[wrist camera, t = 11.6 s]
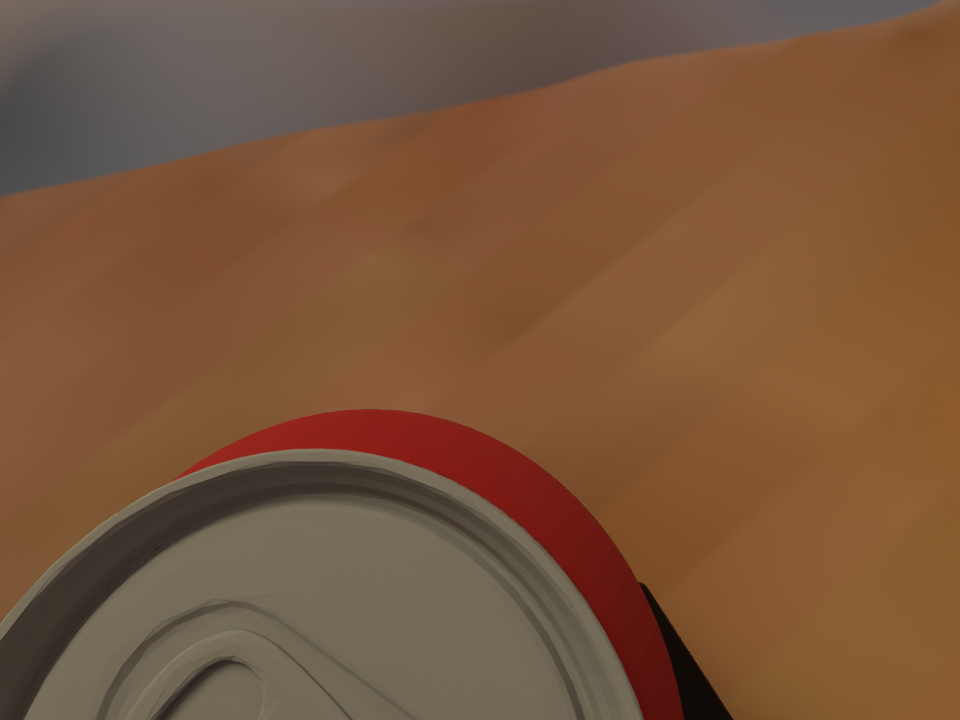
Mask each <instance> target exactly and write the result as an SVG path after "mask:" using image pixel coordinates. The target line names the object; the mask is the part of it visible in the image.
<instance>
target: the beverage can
mask: <svg viewBox="0 0 960 720" xmlns="http://www.w3.org/2000/svg"><path fill="white" fill-rule="evenodd" d="M0 720H684V716H683V711H682V706H681V701H680V696H679V691H678V686H677V682H676V679H675V675H674V672H673V668H672V665H671V661H670V657H669V654H668V651H667V648H666V645H665V642H664V640H663V637H662V634H661V631H660V629H659V626H658V623H657V621H656V618H655V616H654V614H653V612H652V610H651V607H650V605H649V603H648V601H647V599H646V596H645V594H644V592H643V590H642V588H641V587H640V585H639V583H638V581H637V579H636V578H635V576H634V574H633V572H632V570H631V568H630V567H629V565H628V563H627V562H626V560H625V559H624V557H623V556H622V554H621V553H620V551H619V550H618V548H617V547H616V545H615V544H614V542H613V541H612V539H611V538H610V537H609V535H608V534H607V533H606V532H605V530H604V529H603V528H602V526H601V525H600V524H599V523H598V521H597V520H596V519H595V518H594V516H593V515H592V514H591V513H590V512H589V511H588V510H587V509H586V508H585V507H584V506H583V504H582V503H581V502H580V501H579V500H578V499H577V498H576V497H575V496H574V495H573V494H572V493H571V492H570V491H569V490H567V489H566V488H565V487H564V486H563V485H562V484H561V483H560V482H559V481H558V480H557V479H555V478H554V477H553V476H552V475H550V474H549V473H548V472H546V471H545V470H544V469H543V468H541V467H540V466H539V465H537V464H536V463H535V462H533V461H532V460H530V459H529V458H527V457H526V456H524V455H523V454H521V453H519V452H518V451H516V450H515V449H513V448H511V447H509V446H508V445H506V444H504V443H502V442H500V441H498V440H496V439H495V438H493V437H491V436H488V435H486V434H484V433H481V432H479V431H477V430H474V429H472V428H470V427H467V426H464V425H461V424H458V423H455V422H452V421H448V420H445V419H441V418H437V417H433V416H428V415H424V414H419V413H412V412H405V411H397V410H379V409H364V410H345V411H336V412H328V413H321V414H317V415H312V416H307V417H302V418H298V419H295V420H291V421H288V422H285V423H281V424H278V425H275V426H272V427H270V428H267V429H264V430H262V431H259V432H257V433H254V434H251V435H249V436H247V437H245V438H243V439H241V440H238V441H236V442H234V443H232V444H230V445H228V446H226V447H224V448H222V449H220V450H219V451H217V452H215V453H213V454H212V455H210V456H208V457H207V458H205V459H203V460H201V461H200V462H198V463H197V464H195V465H194V466H192V467H191V468H190V469H188V470H187V471H185V472H184V473H182V474H181V475H179V476H178V477H177V478H175V479H174V480H173V481H172V482H170V483H169V484H166V485H164V486H162V487H160V488H158V489H156V490H154V491H152V492H150V493H148V494H147V495H145V496H144V497H142V498H140V499H139V500H137V501H135V502H134V503H132V504H130V505H129V506H127V507H126V508H124V509H123V510H121V511H120V512H118V513H117V514H115V515H113V516H112V517H110V518H109V519H107V520H106V521H104V522H103V523H101V524H100V525H99V526H97V527H96V528H95V529H94V530H93V531H91V532H90V533H89V534H88V535H86V536H85V537H84V538H83V539H82V540H80V541H79V542H78V543H77V544H75V545H74V546H73V547H72V548H71V549H70V550H69V551H68V552H66V553H65V554H64V555H63V556H62V557H61V558H60V559H59V560H58V561H56V562H55V563H54V564H53V565H52V566H51V567H50V568H49V569H48V570H47V571H46V572H45V573H44V574H43V575H42V576H41V577H40V579H39V580H38V581H37V582H36V583H35V584H34V585H33V586H32V587H31V588H30V589H29V590H28V591H27V592H26V594H25V595H24V596H23V597H22V598H21V599H20V600H19V602H18V603H17V604H16V605H15V606H14V607H13V609H12V610H11V611H10V612H9V613H8V615H7V616H6V617H5V618H4V619H3V621H2V622H1V624H0Z"/></svg>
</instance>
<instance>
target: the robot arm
mask: <svg viewBox="0 0 960 720" xmlns="http://www.w3.org/2000/svg"><path fill="white" fill-rule="evenodd" d="M638 583H639V585H640V587H641V588H642V590H643V592H644V594H645V596H646V599H647V601H648V603H649V605H650V607H651V610H652V612H653V614H654V616H655V618H656V621H657V623H658V626H659V629H660V631H661V634H662V637H663V640H664V642H665V645H666V648H667V651H668V654H669V657H670V661H671V665H672V668H673V672H674V675H675V679H676V682H677V686H678V691H679V696H680V701H681V706H682V711H683V716H684V720H733V718H732V717H731V715H730V714H729V712H728V710H727V709H726V707H725V706H724V704H723V703H722V701H721V700H720V698H719V697H718V695H717V694H716V692H715V691H714V689H713V687H712V686H711V684H710V683H709V681H708V680H707V678H706V677H705V675H704V674H703V672H702V671H701V669H700V667H699V666H698V664H697V663H696V661H695V660H694V658H693V657H692V655H691V654H690V652H689V651H688V649H687V648H686V646H685V644H684V643H683V641H682V640H681V638H680V637H679V635H678V634H677V632H676V631H675V629H674V628H673V626H672V624H671V623H670V621H669V620H668V618H667V617H666V615H665V614H664V612H663V611H662V609H661V608H660V606H659V604H658V603H657V601H656V600H655V598H654V597H653V595H652V594H651V592H650V591H649V589H648V588H647V586H646V585H645V584H643V583H641V582H638Z"/></svg>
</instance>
